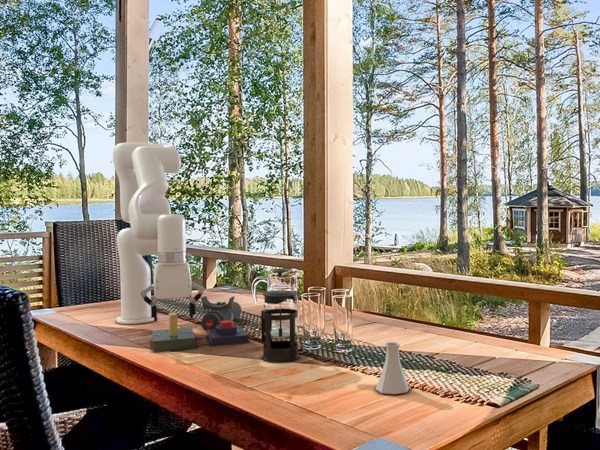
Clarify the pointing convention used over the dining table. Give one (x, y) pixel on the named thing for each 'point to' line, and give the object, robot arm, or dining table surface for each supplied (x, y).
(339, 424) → the dining table surface
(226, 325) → the red button
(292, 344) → the french press
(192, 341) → the panel
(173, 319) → the tan flat block
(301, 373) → the dining table surface
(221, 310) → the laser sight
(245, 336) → the button block
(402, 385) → the flask
